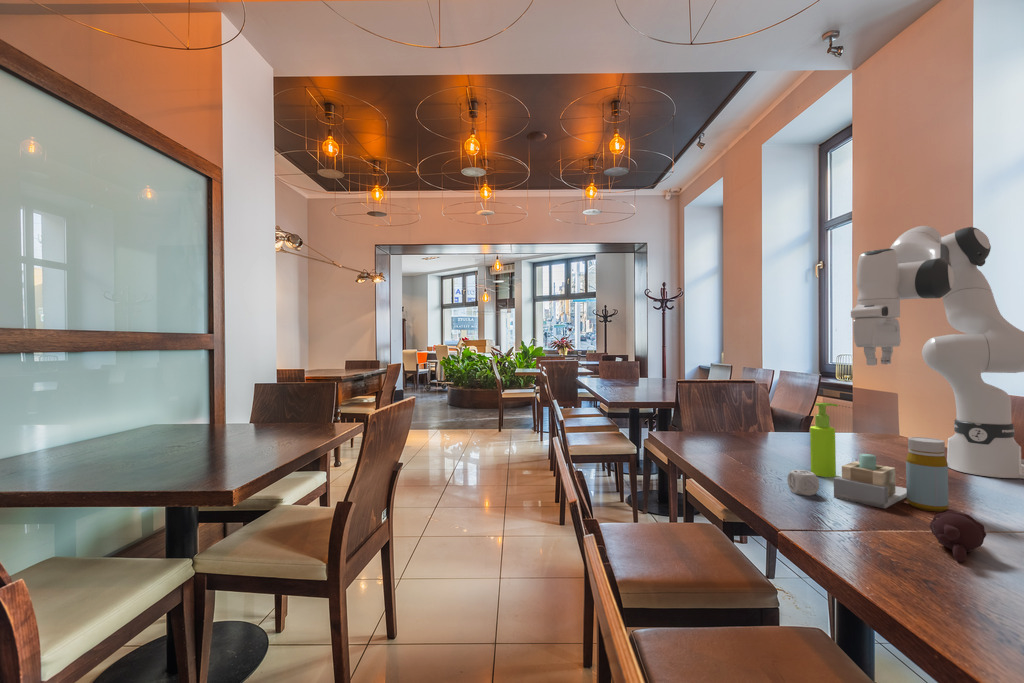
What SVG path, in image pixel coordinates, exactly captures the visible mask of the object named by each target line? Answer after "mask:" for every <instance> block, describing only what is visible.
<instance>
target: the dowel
mask: <svg viewBox="0 0 1024 683" xmlns="http://www.w3.org/2000/svg"><path fill="white" fill-rule="evenodd" d="M858 456H859V457H858V459H859V461H858V462H859V467H860V468H865V469H871V470H876V465H877V456H876V455H875V454H869V453H859V455H858Z"/></svg>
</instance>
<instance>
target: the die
mask: <svg viewBox="0 0 1024 683" xmlns="http://www.w3.org/2000/svg"><path fill="white" fill-rule="evenodd" d="M786 479H787V485H788V488H789V490H790V491H791V492H792V493H794V494H797V495H801V496H806V497H807V496H815V495H816V494H817V493H818V491H819V489H820V482H819V479H818V476H816V475H815V474H814V473H813V472H811V470H810V471H809V470H804V469H793V470H791V471H790V472H789V473H788V474H787V478H786Z"/></svg>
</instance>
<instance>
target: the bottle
mask: <svg viewBox="0 0 1024 683" xmlns="http://www.w3.org/2000/svg"><path fill="white" fill-rule="evenodd" d="M907 447H908V453H907V455H906V458H905V472H906V474H905V475H906V477H905V478H906V481H905V482H906V488H907V497H906V501H907V502H908V504H909V505H910V506H911V507H913V508H916V509H920V510H922V511H923V510H924V511H929V512H944V511H945V512H946V511H947V510H948V509H949V467H948V463H947V457H945V456H946V453H945V451H946V444H945V441H944V440H942V439H939V438H931V437H921V436H911V437H908V438H907Z"/></svg>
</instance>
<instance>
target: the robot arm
mask: <svg viewBox="0 0 1024 683" xmlns="http://www.w3.org/2000/svg"><path fill="white" fill-rule="evenodd" d="M991 250H992V245H991V244H990V239H989V237H988V236H987V235H986V233H984V231H982V230H980V229H979V228H977V227H973V226H968V227H963V228H960V229H957V230H955V232H952V233H949V234H946V235H944V236H942V235H941V233H940V232H939V231H938V230H937V229H936V228H935V227H933V226H929V225H920V226H919V225H918V226H916V227H915V226H914V227H912V228H910V229H909V230H906V231H905V232H903V233H902V234H901V235H899V236H898V237H897V238H896V240H894V241H893V243H892V244H891V246H890V247H889V248H880V249H875V250H869V251H864V252H862V253H860V254H859V257H858V260H857V266H856V287H857V290H858V294H857V298H856V306H854V308H852V309H851V310H850V317H851V319H853V321H852V330H853V340H854V343H855V344H854V345H855V346H856V348H863V354H864V356H865V358H866V362H865V363H866V366H877V364H878V358H877V357H876V352H877V348H881V351H882V352H881V357H880V364H881V365H891V363H892V356H893V352H894V347H895V348H896V347H900V345H901V341H902V340H901V329H900V326H901V325H900V322H899V319H897V318H900V317H901V300H916V299H917V300H919V299H928V300H929V299H941V298H942V303H943V307H944V312H945V316H946V321H947V322H948V324H949V325H950V326H951V327H952V328H953V329H954V330H956V331H958V332H961V333H962V334H961V333H958V334H957V333H955V334H954V333H952V334H945V335H939V336H933V337H931V338H929V339H928V340H927V341H926V342H925V343H924V345H923V347H922V350H921V356H922V360H923V361H924V363H925V364H926V366H928V367H929V368H930V369H931V370H933V371H935V372H936V373H938V374H939V375H940V376H942V377H943V378H944V379H945V380H946V382H947V383H948V384H949V386H950V388H951V389H952V391H953V395H954V396H953V397H954V400H955V412H956V414H955V416H956V419H954V423H953V427H954V432H955V433H954V435H951V436H950V437H948V438H947V450H946V451H947V454H946V455H947V456H946V460H947V463H948V469H951V470H953V471H957V472H961V473H965V474H970V475H977V476H983V477H989V478H990V477H991V478H999V479H1001V478H1003V479H1023V480H1024V458H1022V446H1020V444H1018V443H1017V441H1016V440H1015V439H1014V438H1015V436H1016V435H1015V433H1016V431H1015V426H1014V424H1013V423H1012V398H1011V396H1010V395H1009V394H1008V393H1007V392H1006V391H1005V390H1003V389H1002V388H1000V387H997V386H994V385H992V384H989V383H986V382H985V381H984V380H983V378H982V374H983V373H986V374H987V373H991V374H993V373H995V374H996V373H997V374H999V373H1000V374H1006V373H1007V374H1017V373H1024V331H1023V330H1021V329H1019V328H1018V327H1016V326H1014V325H1013V324H1012V323H1010V322H1009V321H1008V320H1006V318H1004V316H1003V314H1002V313H1001V312H1000V310H999V307H998V305H997V302H996V300H995V296H994V293H993V291H992V290H993V289H992V288H991V285H990V284H989V282H988V279H987V278H986V276H985V275H984V273H983V272H982V271H981V270H980V269H978V267H983V266H984V265H985V264H986V259H987V258H988V257H989V256H990V252H991Z"/></svg>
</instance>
